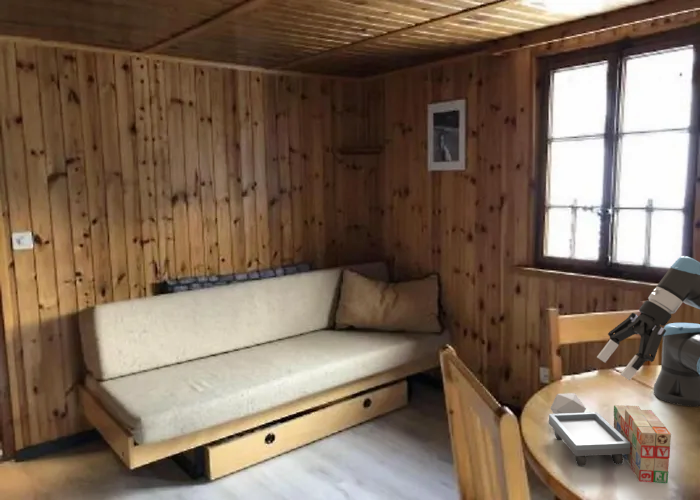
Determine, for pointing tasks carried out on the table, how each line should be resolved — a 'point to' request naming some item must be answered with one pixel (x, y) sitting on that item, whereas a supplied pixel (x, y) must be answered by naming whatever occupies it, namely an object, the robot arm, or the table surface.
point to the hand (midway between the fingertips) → (612, 368)
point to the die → (567, 404)
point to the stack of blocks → (644, 442)
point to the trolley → (589, 436)
